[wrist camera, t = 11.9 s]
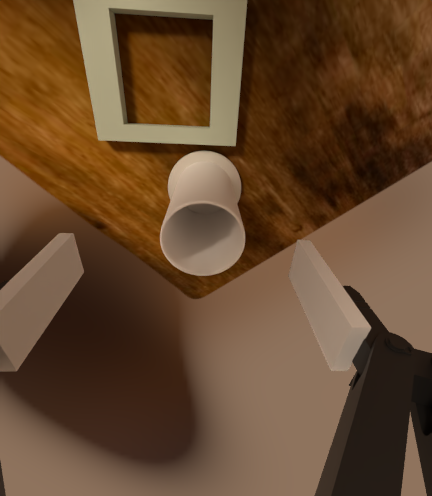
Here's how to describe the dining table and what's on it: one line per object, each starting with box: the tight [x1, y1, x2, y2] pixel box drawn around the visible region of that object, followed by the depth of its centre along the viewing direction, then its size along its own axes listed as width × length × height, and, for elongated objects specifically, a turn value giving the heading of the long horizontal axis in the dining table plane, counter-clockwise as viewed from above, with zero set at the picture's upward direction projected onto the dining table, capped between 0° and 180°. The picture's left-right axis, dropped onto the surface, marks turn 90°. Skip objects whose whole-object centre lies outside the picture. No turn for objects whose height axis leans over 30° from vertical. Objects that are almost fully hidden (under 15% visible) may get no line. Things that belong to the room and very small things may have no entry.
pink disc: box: [168, 150, 241, 203], centre depth 38 cm, size 11×11×1 cm
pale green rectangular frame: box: [73, 0, 247, 146], centre depth 30 cm, size 18×15×2 cm
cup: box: [160, 161, 245, 276], centre depth 31 cm, size 8×8×16 cm
